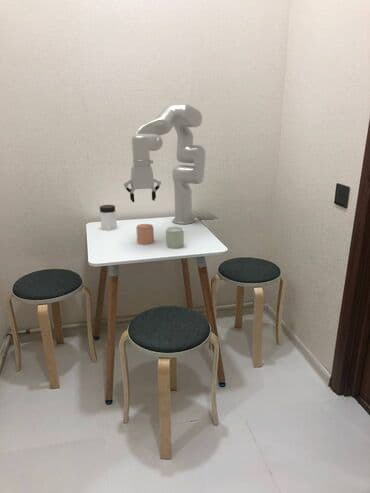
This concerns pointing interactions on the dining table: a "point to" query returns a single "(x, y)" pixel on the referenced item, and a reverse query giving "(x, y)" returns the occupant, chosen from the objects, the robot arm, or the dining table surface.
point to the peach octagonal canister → (145, 234)
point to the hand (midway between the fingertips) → (143, 200)
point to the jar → (108, 217)
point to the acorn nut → (174, 237)
